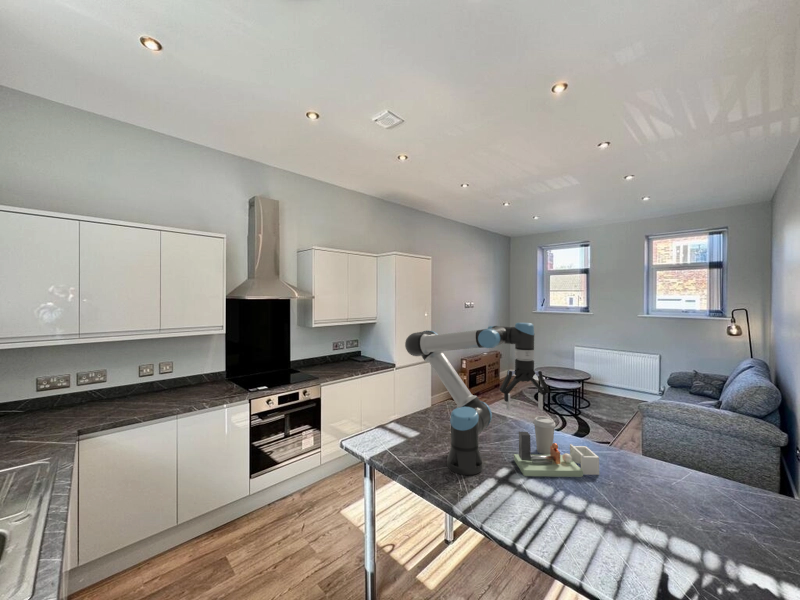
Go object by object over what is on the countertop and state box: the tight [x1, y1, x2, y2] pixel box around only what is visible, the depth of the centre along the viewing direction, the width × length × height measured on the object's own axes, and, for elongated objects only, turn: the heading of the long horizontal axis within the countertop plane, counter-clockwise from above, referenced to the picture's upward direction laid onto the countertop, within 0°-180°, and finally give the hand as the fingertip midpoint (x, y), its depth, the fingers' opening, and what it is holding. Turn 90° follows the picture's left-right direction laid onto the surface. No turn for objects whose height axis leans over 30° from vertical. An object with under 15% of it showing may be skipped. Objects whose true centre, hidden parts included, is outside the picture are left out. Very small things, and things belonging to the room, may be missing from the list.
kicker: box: [518, 431, 561, 464], centre depth 132 cm, size 16×6×11 cm, turn 87°
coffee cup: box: [532, 415, 557, 455], centre depth 146 cm, size 10×10×15 cm
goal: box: [569, 443, 600, 476], centre depth 131 cm, size 7×10×8 cm
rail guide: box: [532, 461, 552, 464], centre depth 132 cm, size 8×4×1 cm, turn 87°
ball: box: [562, 452, 572, 463], centre depth 131 cm, size 4×4×4 cm
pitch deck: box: [513, 453, 584, 478], centre depth 132 cm, size 23×13×2 cm, turn 87°
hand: (524, 409), depth 133 cm, fingers open, 13 cm apart
